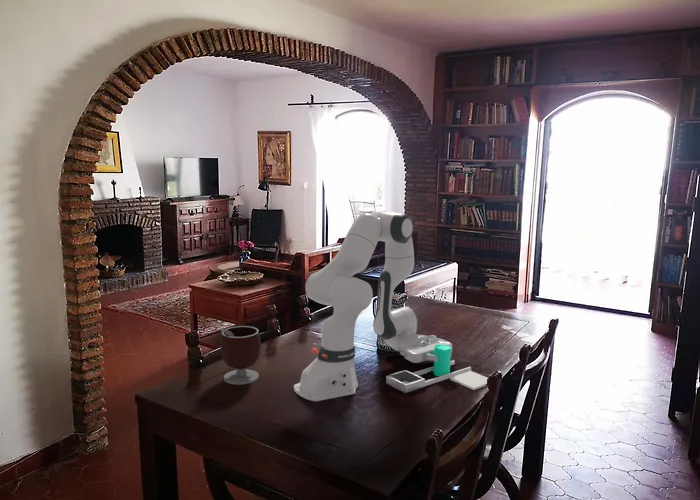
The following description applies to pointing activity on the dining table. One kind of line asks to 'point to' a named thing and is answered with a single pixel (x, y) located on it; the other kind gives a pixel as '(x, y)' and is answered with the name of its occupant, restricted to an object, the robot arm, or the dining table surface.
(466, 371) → the guide channel
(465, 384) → the ceramic tile
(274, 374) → the dining table surface
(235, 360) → the mate gourd
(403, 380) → the shallow square tray
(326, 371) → the robot arm
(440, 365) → the candle
